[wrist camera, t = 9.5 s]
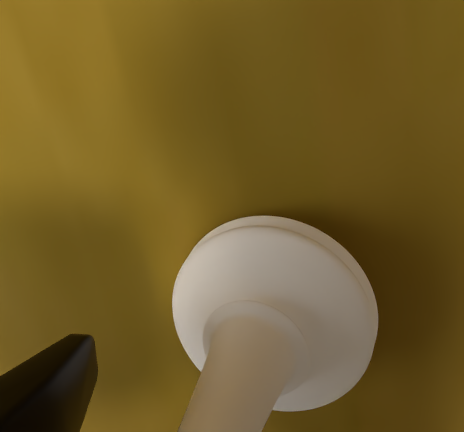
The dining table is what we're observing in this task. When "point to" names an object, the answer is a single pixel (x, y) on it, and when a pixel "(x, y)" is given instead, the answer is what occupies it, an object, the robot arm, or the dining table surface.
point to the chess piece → (270, 322)
